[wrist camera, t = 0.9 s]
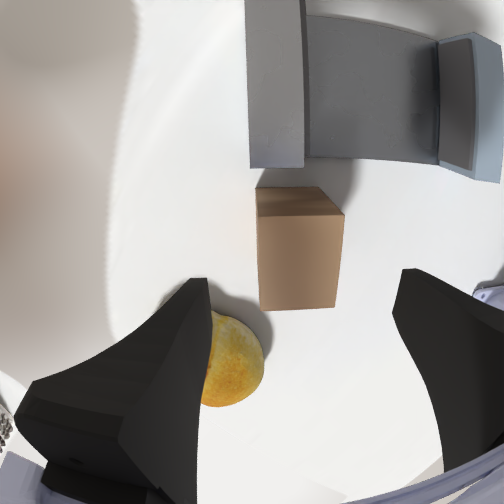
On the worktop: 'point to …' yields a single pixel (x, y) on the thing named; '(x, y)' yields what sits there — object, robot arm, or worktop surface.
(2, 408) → the decorative candle
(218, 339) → the bread roll
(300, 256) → the walnut block
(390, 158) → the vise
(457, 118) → the sliding jaw
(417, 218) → the worktop surface
